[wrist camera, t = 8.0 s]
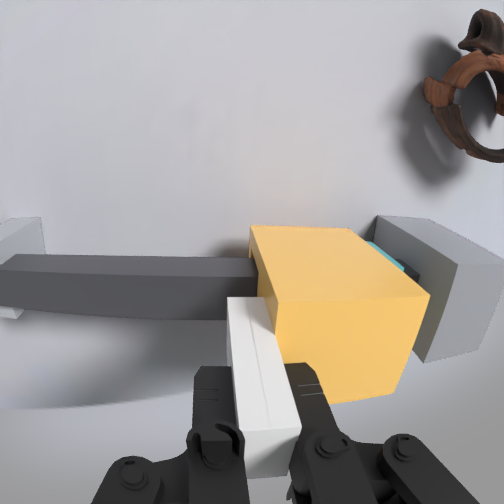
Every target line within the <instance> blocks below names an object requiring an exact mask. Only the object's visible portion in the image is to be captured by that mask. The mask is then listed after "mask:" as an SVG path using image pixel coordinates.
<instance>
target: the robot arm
mask: <svg viewBox="0 0 504 504" xmlns="http://www.w3.org/2000/svg"><path fill="white" fill-rule="evenodd" d="M226 351H227V366H201V367H200V369H199V370H198V372H197V374H196V375H195V377H194V394H193V418H192V429H191V430H190V431H189V432H188V435H187V439H186V443H187V450H186V451H185V452H184V453H183V454H181V455H179V456H177V457H175V458H172V459H169V460H164V461H159V462H154V463H152V462H151V461H149V460H147V459H145V458H143V457H137V456H129V457H123V458H121V459H119V460H117V461H115V462H114V463H113V464H112V466H111V467H110V468H109V470H108V472H107V474H106V475H105V477H104V479H103V482H102V483H101V485H100V487H99V489H98V491H97V493H96V495H95V497H94V499H93V501H92V503H91V504H250V500H249V492H248V485H247V479H255V478H269V477H279V476H286V475H287V473H288V470H290V475H291V479H292V482H291V485H290V487H289V490H288V492H287V498H286V500H290V499H291V498H292V502H293V504H480V503H479V502H478V501H477V500H476V499H475V498H474V497H473V496H472V495H471V494H470V493H469V492H468V491H467V490H466V489H465V487H463V485H462V484H461V483H460V482H459V481H458V480H457V479H456V478H455V477H454V476H453V475H452V474H451V473H450V471H449V470H447V468H446V467H445V466H444V465H443V464H442V463H441V462H440V461H439V460H438V459H437V458H436V457H435V456H434V455H433V453H432V452H430V450H429V449H428V448H427V447H426V446H425V445H424V444H423V443H422V442H421V441H420V440H419V439H417V438H416V437H415V436H412V435H409V434H397V435H394V436H391V437H390V438H389V439H388V440H386V441H385V443H384V444H373V443H372V444H371V443H361V442H356V441H353V440H351V439H350V438H349V437H348V436H347V435H345V434H344V433H342V432H340V430H339V428H338V427H337V425H336V422H335V419H334V417H333V414H332V412H331V409H330V407H329V404H328V402H327V399H326V397H325V394H324V393H323V389H322V387H321V385H320V382H319V379H318V377H317V374H316V372H315V371H314V370H313V369H312V368H311V367H310V366H309V365H308V364H307V363H306V362H302V363H286V364H283V360H282V357H281V353H280V350H279V347H278V343H277V340H276V336H275V334H274V330H273V327H272V323H271V320H270V317H269V313H268V310H267V306H266V303H265V299H264V297H227V345H226Z"/></svg>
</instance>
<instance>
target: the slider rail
mask: <svg viewBox="0 0 504 504" xmlns="http://www.w3.org/2000/svg"><path fill="white" fill-rule="evenodd" d="M366 242H367V243H368V244H369V245H371V246H372V247H373V248H374V249H376V250H377V251H378V252H379V253H381V254H382V255H383V256H384V257H386V258H387V259H388V260H389V261H391V262H392V263H393V264H394V265H395V266H397V267H398V268H399V269H400V270H401V271H403V272H404V273H405V274H406V275H407V276H409V277H410V278H411V279H412V280H413V281H415V282H416V283H417V284H418V285H419V286H420V287H422V288H423V289H424V290H425V291H426V292H427V293H428V294H430V295H431V296H430V299H429V302H428V305H427V308H426V311H425V314H424V317H423V320H422V323H421V326H420V329H419V331H418V334H417V337H416V340H415V342H414V345H413V348H412V350H413V351H414V352H415V354H416V355H417V356H418V357H419V359H420V360H421V361H422V362H423V363H428V362H432V361H437V360H441V359H445V358H449V357H453V356H457V355H461V354H464V353H468V352H472V351H475V350H478V349H479V346H480V344H481V342H482V340H483V337H484V335H485V333H486V331H487V328H488V326H489V324H490V321H491V319H492V316H493V314H494V311H495V308H496V306H497V303H498V301H499V298H500V295H501V292H502V289H503V286H504V259H502V258H500V257H499V256H497V255H495V254H494V253H492V252H490V251H488V250H487V249H485V248H483V247H481V246H479V245H478V244H476V243H474V242H472V241H470V240H469V239H467V238H465V237H463V236H461V235H459V234H457V233H455V232H453V231H452V230H450V229H448V228H446V227H444V226H442V225H440V224H438V223H436V222H434V221H432V220H430V219H420V218H409V217H396V216H383V215H377V221H376V227H375V233H374V239H373V243H372V242H368V241H366ZM258 275H259V272H258V269H257V266H256V262H255V259H254V258H238V257H161V256H100V255H47V254H46V253H45V247H44V240H43V234H42V226H41V218H40V217H33V218H11V219H9V220H7V221H5V222H4V223H2V224H0V317H6V318H12V319H17V318H18V317H19V316H20V315H21V314H22V312H23V311H24V310H25V309H29V310H38V311H48V312H58V313H68V314H80V315H93V316H108V317H125V318H145V319H173V320H227V297H257V289H258Z"/></svg>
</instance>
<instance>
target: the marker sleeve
mask: <svg viewBox="0 0 504 504" xmlns="http://www.w3.org/2000/svg"><path fill="white" fill-rule="evenodd" d="M249 258H254V259H255V262H256V266H257V269H258V272H259V275H258V289H257V297H264V299H265V303H266V306H267V310H268V313H269V317H270V320H271V323H272V327H273V330H274V334H275V336H276V340H277V343H278V347H279V350H280V353H281V357H282V360H283V364H286V363H302V362H306V363H307V364H308V365H309V366H310V367H311V368H312V369H313V370H314V371H315V372H316V374H317V377H318V379H319V382H320V385H321V387H322V389H323V393H324V394H325V397H326V399H327V402H328V404H335V403H342V402H349V401H355V400H361V399H366V398H372V397H377V396H382V395H386V394H391V393H393V392H394V390H395V388H396V385H397V383H398V381H399V379H400V377H401V374H402V372H403V370H404V367H405V365H406V362H407V360H408V358H409V355H410V353H411V350H412V348H413V345H414V342H415V340H416V337H417V334H418V331H419V329H420V326H421V323H422V320H423V317H424V314H425V311H426V308H427V305H428V302H429V299H430V296H431V295H430V294H428V293H427V292H426V291H425V290H424V289H423V288H422V287H420V286H419V285H418V284H417V283H416V282H415V281H413V280H412V279H411V278H410V277H409V276H407V275H406V274H405V273H404V272H403V271H401V270H400V269H399V268H398V267H397V266H395V265H394V264H393V263H392V262H391V261H389V260H388V259H387V258H386V257H384V256H383V255H382V254H381V253H379V252H378V251H377V250H376V249H374V248H373V247H372V246H371V245H369V244H368V243H367V242H366V241H364V240H363V239H362V238H360V237H359V236H358V235H357V234H355V233H354V232H353V231H351V230H350V229H349V228H326V227H297V226H262V225H250V240H249Z"/></svg>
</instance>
